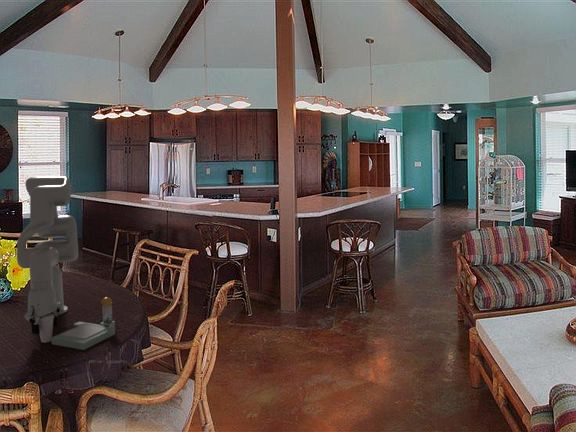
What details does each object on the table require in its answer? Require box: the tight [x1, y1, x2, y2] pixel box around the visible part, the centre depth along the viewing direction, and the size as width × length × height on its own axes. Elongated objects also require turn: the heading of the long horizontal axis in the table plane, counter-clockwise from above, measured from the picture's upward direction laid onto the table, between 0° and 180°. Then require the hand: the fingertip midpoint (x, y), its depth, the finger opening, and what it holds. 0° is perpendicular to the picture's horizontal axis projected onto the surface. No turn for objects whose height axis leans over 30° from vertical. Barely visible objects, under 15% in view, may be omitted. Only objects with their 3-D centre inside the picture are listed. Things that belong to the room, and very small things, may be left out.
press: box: [51, 321, 116, 351], centre depth 206 cm, size 22×21×3 cm
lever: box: [100, 296, 116, 328], centre depth 211 cm, size 4×4×12 cm
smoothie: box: [38, 314, 54, 343], centre depth 200 cm, size 6×6×14 cm
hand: (44, 330), depth 200 cm, fingers open, 7 cm apart
